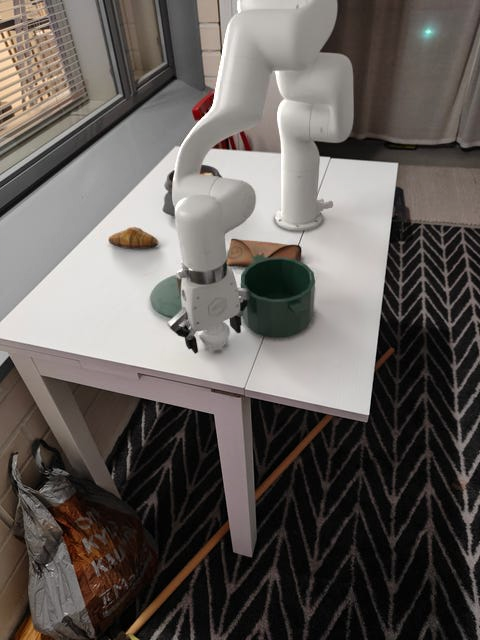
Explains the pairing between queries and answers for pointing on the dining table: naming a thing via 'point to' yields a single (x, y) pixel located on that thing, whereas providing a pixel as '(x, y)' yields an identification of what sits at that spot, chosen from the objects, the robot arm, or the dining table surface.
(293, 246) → the sunglasses case
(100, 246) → the dining table surface
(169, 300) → the lid
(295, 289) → the pot
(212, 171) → the casserole
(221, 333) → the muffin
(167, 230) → the dining table surface
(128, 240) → the croissant
